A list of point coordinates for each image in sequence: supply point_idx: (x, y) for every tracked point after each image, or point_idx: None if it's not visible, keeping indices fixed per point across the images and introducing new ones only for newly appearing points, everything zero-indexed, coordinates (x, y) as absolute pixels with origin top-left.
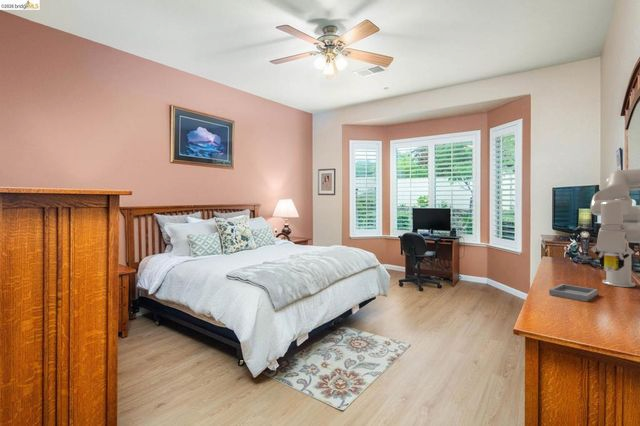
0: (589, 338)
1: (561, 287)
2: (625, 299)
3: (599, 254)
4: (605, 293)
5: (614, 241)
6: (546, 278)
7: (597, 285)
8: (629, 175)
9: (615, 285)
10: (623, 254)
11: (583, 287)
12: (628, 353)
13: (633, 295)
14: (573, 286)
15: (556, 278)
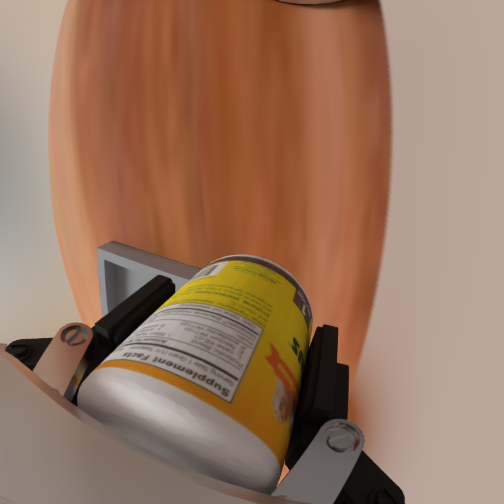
0: None
1: (110, 279)
2: (340, 305)
3: (72, 403)
4: (262, 220)
5: None
6: (58, 71)
7: (219, 36)
8: None
9: (297, 3)
10: (329, 498)
11: (167, 274)
12: None
13: (386, 186)
14: (135, 270)
15: (82, 38)
